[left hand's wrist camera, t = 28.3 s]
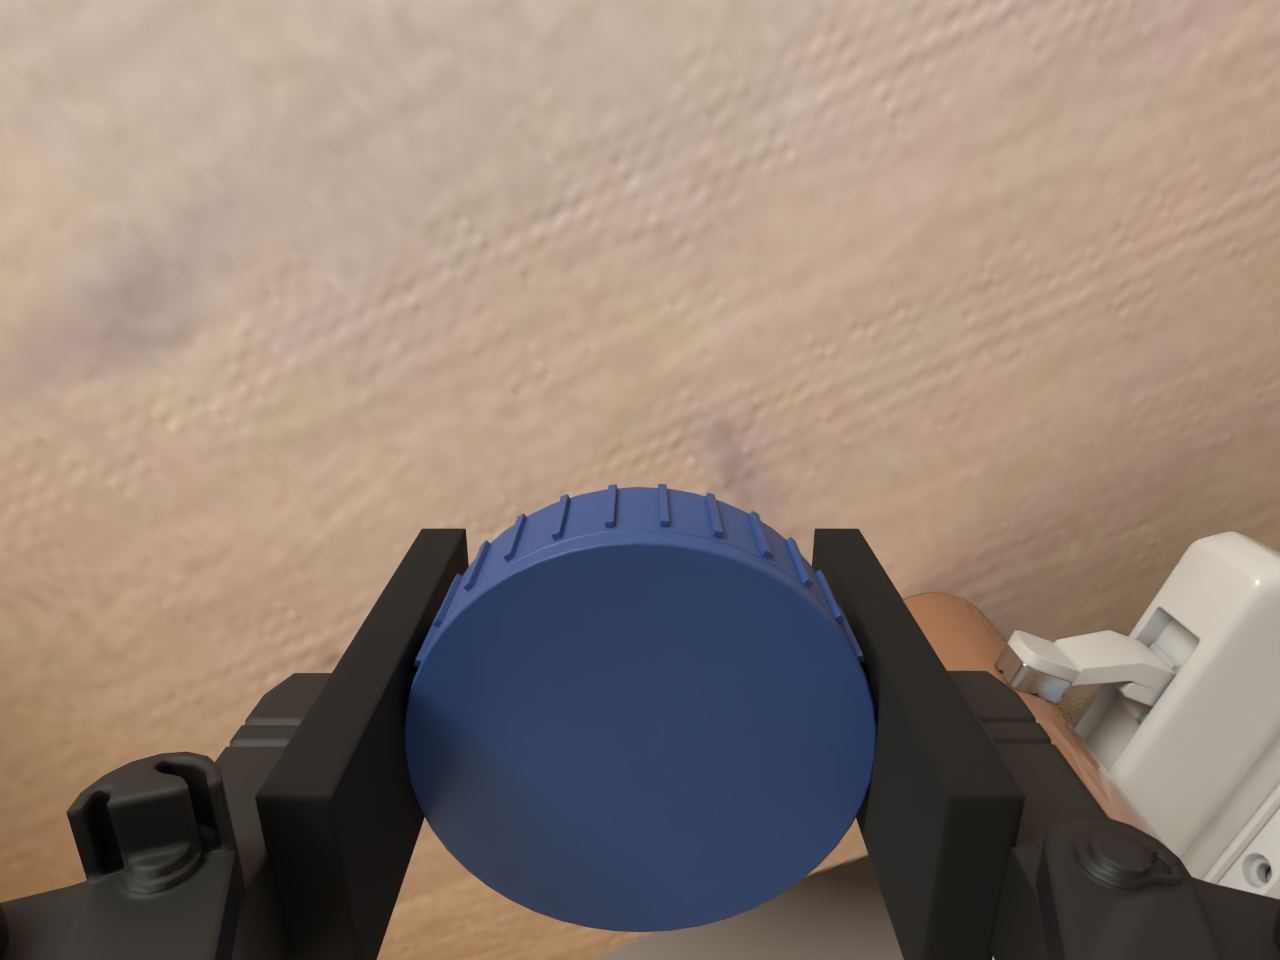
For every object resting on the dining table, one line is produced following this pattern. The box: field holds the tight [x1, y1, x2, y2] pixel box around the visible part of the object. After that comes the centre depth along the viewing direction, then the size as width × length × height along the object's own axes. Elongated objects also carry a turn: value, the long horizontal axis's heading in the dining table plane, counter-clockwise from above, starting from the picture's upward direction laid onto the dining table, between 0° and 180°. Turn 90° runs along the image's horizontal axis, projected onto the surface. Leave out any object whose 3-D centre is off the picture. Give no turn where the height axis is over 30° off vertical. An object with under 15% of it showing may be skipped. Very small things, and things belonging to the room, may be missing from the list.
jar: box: [903, 593, 1170, 850], centre depth 28 cm, size 6×6×16 cm
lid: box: [404, 484, 877, 932], centre depth 11 cm, size 6×6×2 cm
